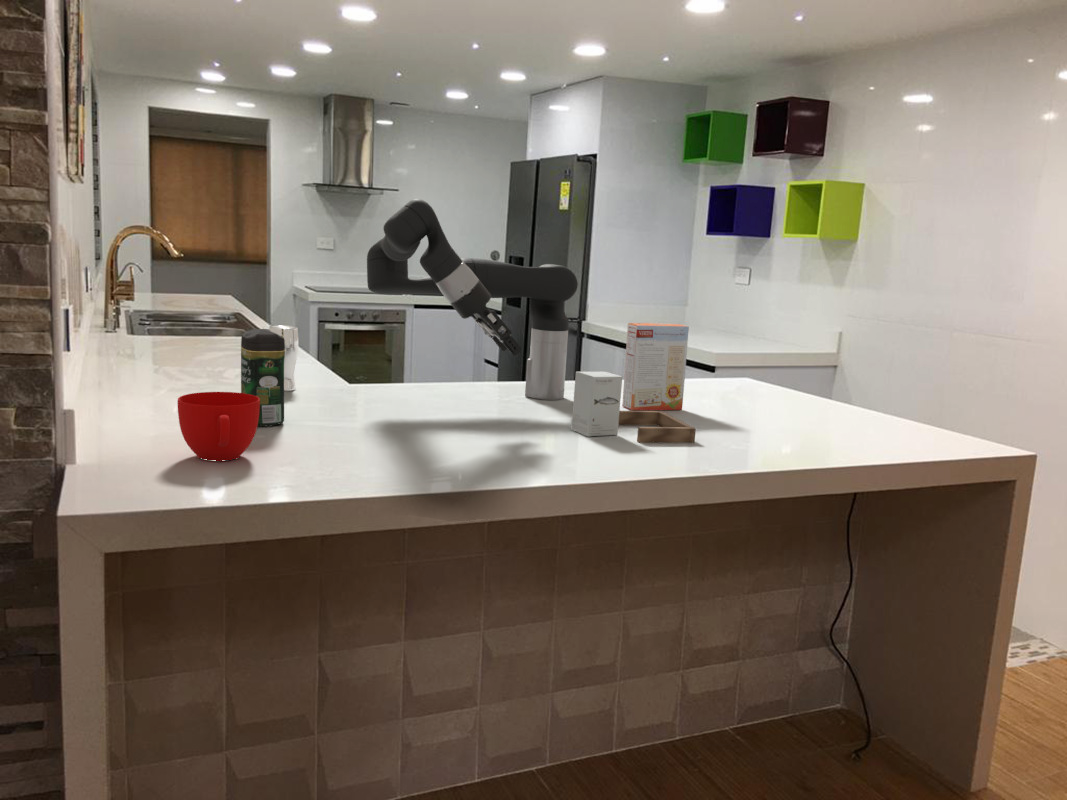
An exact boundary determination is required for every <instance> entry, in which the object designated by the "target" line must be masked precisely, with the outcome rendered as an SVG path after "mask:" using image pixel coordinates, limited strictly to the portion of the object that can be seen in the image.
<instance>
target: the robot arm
mask: <svg viewBox="0 0 1067 800" xmlns="http://www.w3.org/2000/svg"><path fill="white" fill-rule="evenodd" d="M382 229H383V233H384V237H382V239H380V240H378V241H377V242H376V243H374V244H373V245H372V246H371V247H370V248H369V250H368V251H367V255H366V269H367V270H366V279H367V280H366V281H367V289H368V290H369V291H370V292H372V293H374V294H378V295H387V296H388V295H390V296H392V295H395V296H398V295H400V296H401V295H410V296H411V295H433V296H434V295H436V296H437V295H438V296H444V298H446V300H447V302H448V303H449V304H450V305H451V306H452V308H453V309H454V310H455V311H456V312H457V313H458V315H459V316H460V317H461V318H462V319H469V318H472V319H473V320H474V322H475V323H476V325H477V326H479V327H480V329H481V331H482V332H483V333H484V334H485V335H486V336H488V338H490V339H492V340H493V342H494V343H495V344H496V346H497V347H499V349H500V351H502V352H506V351H507V350H508V352H509V353H510V354H511V355H512V356H517V355H518V354H519V353H520V352H521V351H522V347H521V346H520V345H519V343H518V342H517V341H516V340H515V338H514V337H513V336H512V334H513V332H512V330H511V329H510V328H509V327H508V326H507V325H506V323H505V322H504V321H503V320H502V319H501V317H500V316H499V315H498V314H497V312H496V310H494V309H490V308H489V307H487V304H488V303H489V302H490V301H491V299H505V298H506V299H508V298H511V299H512V298H529V317H530V320H531V332H530V333H531V335H530V346H529V348H530V350H529V358H527V360H526V372H525V373H526V375H525V376H526V377H525V387H524V388H525V391H524V393H525V394H524V396H525V397H527V398H528V397H529V398H532V399H536V400H548V401H549V400H550V401H551V400H552V401H555V400H562V399H564V396H565V384H566V383H565V382H566V367H567V356H568V354H567V353H568V338H569V337H568V336H569V323H570V322H569V318H568V317H567V315H566V313H565V309H564V308H565V307H564V305H565V304H564V303H565V302H566V301H568V300H569V299H571V298H572V297H573V296H575V294H576V292H577V290H578V286H579V283H578V279H577V277H576V275H575V273H574V272H573V271H572V269H569V267H567V266H564V265H560V264H552V263H545V264H542V265H539V266H522V265H517V264H513V263H508V262H504V261H498V260H493V259H492V260H491V259H485V258H484V259H483V258H474V257H473V258H470V257H460V256H459V255H458V253H457V252H456V251H455V249H454V248H453V247H452V246H451V244H450V243H449V240H448V239H447V237H446V234H445V233H444V231H443V228H442V225H441V223H440V221H439V219H438V216H437V214H436V212H435V210H434V208H433V207H432V206H431V205H430V204H429V202H427V201H425V200H423V199H421V198H413V199H411V200H409V201H408V202H407V203H406V204H405V205H404V206H402V207H401V208H400V209H399V210H397V212H395V213H394V214H393V215H391V217H389V218H388V219H387V220H386V222H385V223H384V225H383V228H382ZM425 237H426V238H427V241H428V243H427V244H428V245H427V248H426V249H425V251H424V252H423V253H422V255H421V257H420V259H419V263H420V265H421V267H422V269H423V270H424V271H425V272H426V274H427V275H426V276H424V277H418V278H409V264H408V260H409V259H410V258H412V256H413V255H414V254H415V253H416V251H417V250H418V248H419V246H420V244H421V240H423V239H424V238H425ZM501 331H503V332H501Z"/></svg>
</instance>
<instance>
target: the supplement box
mask: <svg viewBox="0 0 1067 800" xmlns="http://www.w3.org/2000/svg"><path fill="white" fill-rule="evenodd" d="M622 386H623V376H621V375H618V374H616V373H615V374H614V373H612V372H608V371H575V379H574V390H573V391H574V392H573V404H572V419H571V430H572V431H574V432H576V433H578V434H580V435H584V436H585V437H588V438H589V437H596V436H597V437H598V436H599V437H600V436H617V435H618V433H619V425H618V423H619V411H621V410H620V409H621V408H620V407H621V398H622V388H623V387H622Z"/></svg>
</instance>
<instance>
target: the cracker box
mask: <svg viewBox="0 0 1067 800" xmlns="http://www.w3.org/2000/svg"><path fill="white" fill-rule="evenodd" d="M689 329H690V327H689V326H688V325H684V324H681V323H655V322H651V323H650V322H629V323H627V332H626V333H627V334H626V345H625V346H626V347H625V358H624V359H625V363H624V376H623V377H624V379H623V391H622V403H621V404H622V408H625V409H628V410H629V411H682V410H683V405H684V404H683V403H684V402H683V401H684V391H685V378H686V368H687V367H686V365H687V352H688V344H689V343H688V342H689Z"/></svg>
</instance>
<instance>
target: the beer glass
mask: <svg viewBox="0 0 1067 800" xmlns="http://www.w3.org/2000/svg"><path fill="white" fill-rule="evenodd" d="M268 329H269V330H270V331H272V332H274V333H276V334H278V335H280V336H282V337H283V338H284V340H285V358H284V392H293V391H295V390H297V389H296V382H295V381H296V380H295V371H296V364H297V360H298V353H299V331H298V329H299V328H298V326H293V325H269V327H268Z"/></svg>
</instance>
